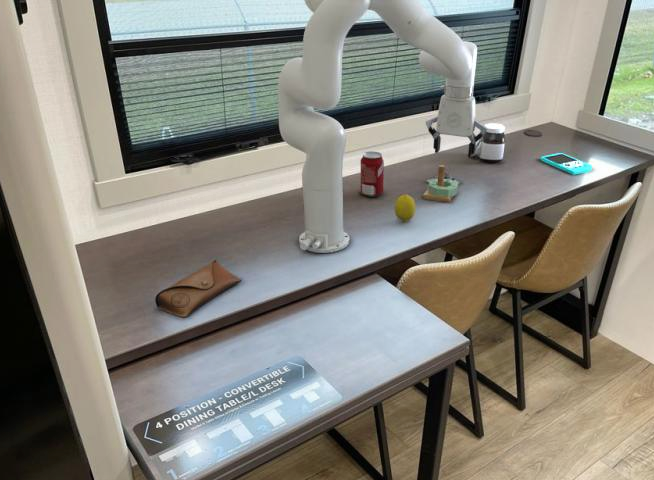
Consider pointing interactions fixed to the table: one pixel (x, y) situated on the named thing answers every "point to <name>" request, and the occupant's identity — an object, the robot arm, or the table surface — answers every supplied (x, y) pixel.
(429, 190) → the ring
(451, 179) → the donut
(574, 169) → the handheld game console
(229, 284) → the sunglasses case
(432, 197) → the post
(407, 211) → the lemon
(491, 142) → the spread jar
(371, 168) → the soda can
